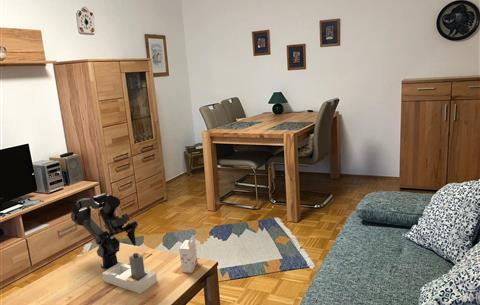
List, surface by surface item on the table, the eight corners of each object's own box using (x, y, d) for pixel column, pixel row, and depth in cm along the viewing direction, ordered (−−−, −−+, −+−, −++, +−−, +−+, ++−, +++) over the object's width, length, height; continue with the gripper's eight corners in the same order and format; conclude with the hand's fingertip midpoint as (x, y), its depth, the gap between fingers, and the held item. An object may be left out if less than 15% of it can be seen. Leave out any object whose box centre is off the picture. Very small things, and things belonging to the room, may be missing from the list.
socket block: (103, 281, 170) (101, 272, 169) (120, 270, 178) (119, 261, 177) (140, 293, 159) (138, 284, 158) (157, 281, 167) (155, 272, 166)
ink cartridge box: (187, 262, 181) (184, 233, 178) (197, 263, 180) (195, 233, 177) (181, 272, 173) (178, 242, 169) (192, 273, 172) (188, 242, 168)
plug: (133, 284, 166) (128, 254, 162) (141, 280, 168) (137, 251, 165) (137, 288, 163) (133, 257, 160) (146, 283, 166) (142, 253, 162)
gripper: (95, 216, 161) (112, 248, 157) (134, 203, 175) (151, 233, 170) (88, 228, 168) (104, 260, 164) (125, 216, 182) (141, 244, 177)
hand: (126, 248), depth 168 cm, fingers open, 9 cm apart
